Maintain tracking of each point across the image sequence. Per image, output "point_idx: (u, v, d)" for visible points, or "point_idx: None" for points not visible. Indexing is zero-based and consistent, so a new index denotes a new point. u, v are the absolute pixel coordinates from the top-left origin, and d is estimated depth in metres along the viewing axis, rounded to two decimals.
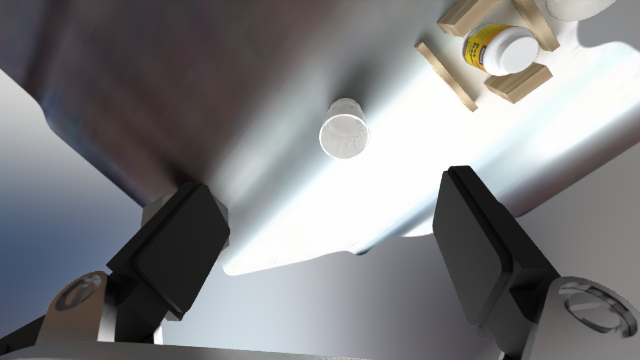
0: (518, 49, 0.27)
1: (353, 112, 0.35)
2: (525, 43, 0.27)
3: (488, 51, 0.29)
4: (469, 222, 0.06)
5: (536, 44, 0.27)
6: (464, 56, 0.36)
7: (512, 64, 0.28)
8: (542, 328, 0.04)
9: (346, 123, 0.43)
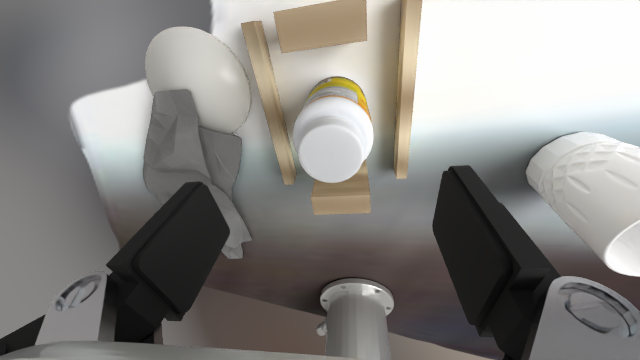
0: (328, 167, 0.14)
1: (589, 240, 0.17)
2: (315, 169, 0.14)
3: None
4: (469, 222, 0.06)
5: (301, 155, 0.14)
6: None
7: (345, 149, 0.13)
8: (542, 328, 0.04)
9: None
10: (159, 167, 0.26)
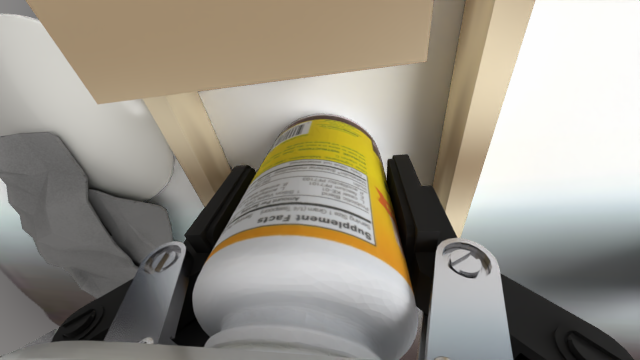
0: None
1: None
2: None
3: None
4: (397, 200, 0.07)
5: None
6: None
7: None
8: (436, 289, 0.05)
9: None
10: (46, 244, 0.17)
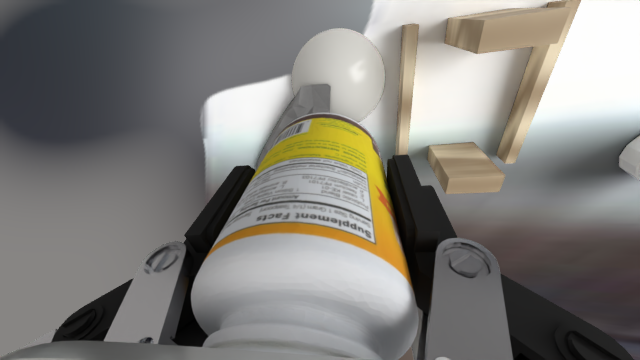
0: None
1: None
2: None
3: None
4: (397, 200, 0.07)
5: None
6: None
7: None
8: (435, 289, 0.05)
9: None
10: None
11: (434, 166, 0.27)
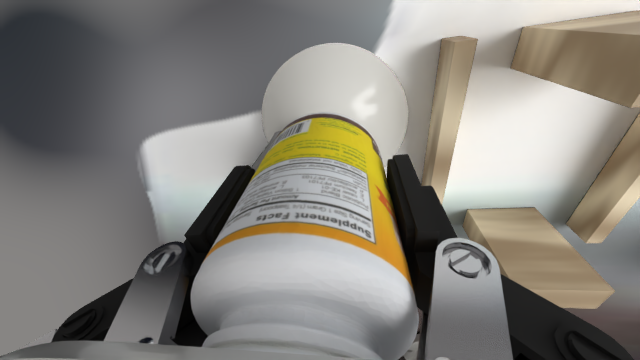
0: None
1: None
2: None
3: None
4: (397, 200, 0.07)
5: None
6: None
7: None
8: (436, 289, 0.05)
9: None
10: None
11: None
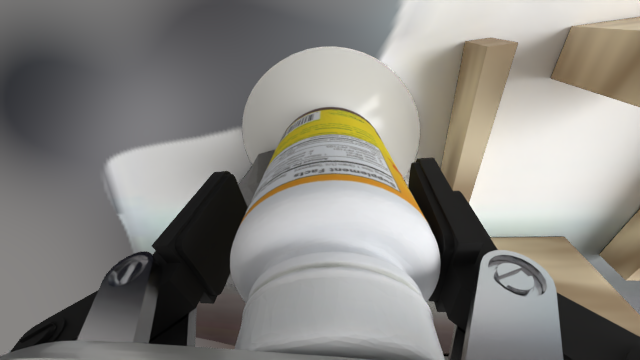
0: None
1: None
2: None
3: None
4: (427, 207, 0.07)
5: None
6: None
7: None
8: (478, 301, 0.04)
9: None
10: None
11: None
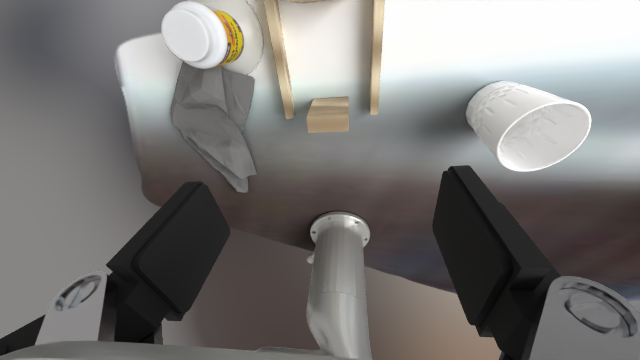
0: (185, 47, 0.20)
1: (491, 147, 0.26)
2: (177, 48, 0.20)
3: (218, 60, 0.23)
4: (469, 222, 0.06)
5: (164, 35, 0.20)
6: (243, 44, 0.28)
7: (193, 30, 0.20)
8: (542, 328, 0.04)
9: None
10: (187, 102, 0.34)
11: None
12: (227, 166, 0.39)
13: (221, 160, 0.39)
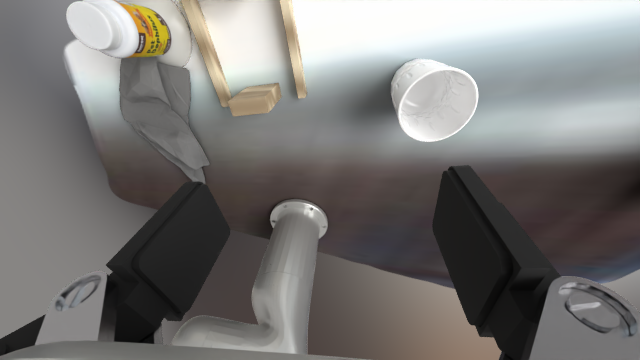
0: (92, 36, 0.23)
1: None
2: (84, 37, 0.23)
3: (132, 49, 0.25)
4: (469, 222, 0.06)
5: (70, 26, 0.22)
6: (169, 37, 0.30)
7: (95, 20, 0.22)
8: (542, 328, 0.04)
9: (422, 80, 0.30)
10: (131, 96, 0.36)
11: None
12: (178, 157, 0.41)
13: (172, 151, 0.41)
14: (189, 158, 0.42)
